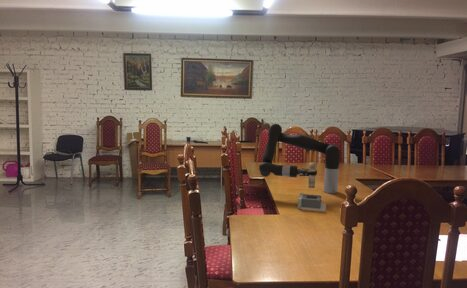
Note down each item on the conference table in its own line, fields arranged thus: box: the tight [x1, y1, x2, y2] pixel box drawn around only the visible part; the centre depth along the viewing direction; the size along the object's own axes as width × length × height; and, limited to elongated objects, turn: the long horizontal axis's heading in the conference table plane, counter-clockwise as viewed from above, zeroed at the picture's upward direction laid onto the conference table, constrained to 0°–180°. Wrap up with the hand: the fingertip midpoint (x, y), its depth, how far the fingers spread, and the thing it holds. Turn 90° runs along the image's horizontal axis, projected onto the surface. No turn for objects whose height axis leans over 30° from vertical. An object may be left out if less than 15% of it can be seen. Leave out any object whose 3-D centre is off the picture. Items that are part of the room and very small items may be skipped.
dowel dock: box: [297, 192, 327, 213], centre depth 220 cm, size 14×16×6 cm
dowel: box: [308, 161, 317, 189], centre depth 233 cm, size 4×4×16 cm
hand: (316, 172), depth 233 cm, fingers closed on dowel, 4 cm apart
